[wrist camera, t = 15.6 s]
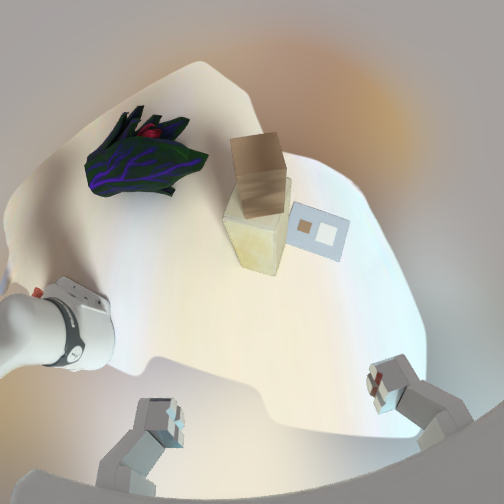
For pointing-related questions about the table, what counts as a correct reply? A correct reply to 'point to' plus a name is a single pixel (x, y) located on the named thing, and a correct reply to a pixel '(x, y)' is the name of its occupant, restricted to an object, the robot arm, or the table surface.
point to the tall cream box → (257, 234)
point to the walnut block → (260, 174)
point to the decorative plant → (142, 157)
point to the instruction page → (317, 231)
